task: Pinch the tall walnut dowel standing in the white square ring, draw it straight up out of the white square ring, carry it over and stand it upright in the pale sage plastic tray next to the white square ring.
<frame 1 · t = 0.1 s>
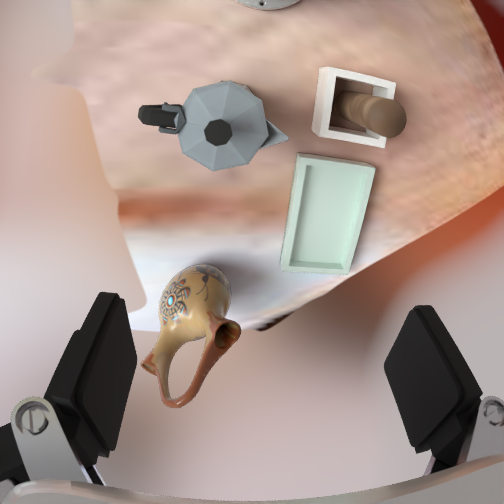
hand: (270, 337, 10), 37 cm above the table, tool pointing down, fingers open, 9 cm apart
white square ring: (346, 104, 39), on the table
coffee maker: (220, 109, 40), on the table
dowel: (364, 110, 33), in the white square ring
ceramic vessel: (198, 276, 53), on the table
tray: (323, 214, 48), on the table
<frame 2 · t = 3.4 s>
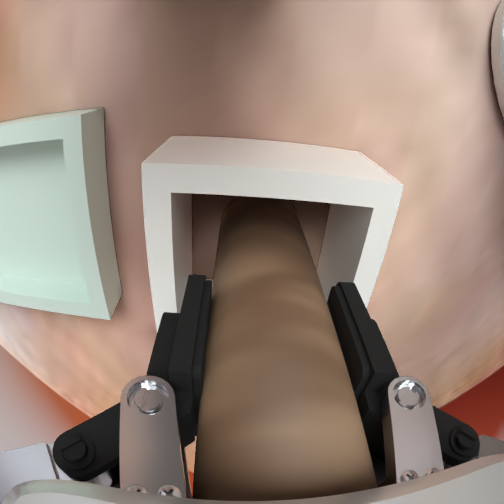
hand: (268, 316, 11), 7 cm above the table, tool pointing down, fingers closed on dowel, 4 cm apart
white square ring: (259, 226, 17), on the table
dowel: (269, 319, 11), in the white square ring, touching gripper
when the fingers open (9 cm above the table, at t = 9.3 s): dowel stays where it is, resting on tray.
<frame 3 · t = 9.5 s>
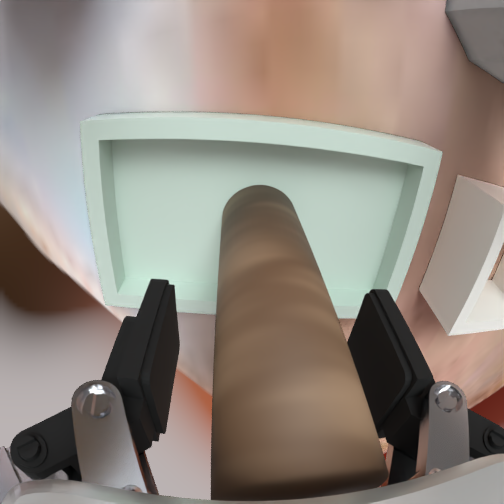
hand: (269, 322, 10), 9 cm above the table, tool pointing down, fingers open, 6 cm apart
white square ring: (481, 241, 19), on the table
coffee maker: (493, 9, 11), on the table
dowel: (272, 304, 11), in the tray, point 8 cm above the table
tray: (257, 212, 18), on the table
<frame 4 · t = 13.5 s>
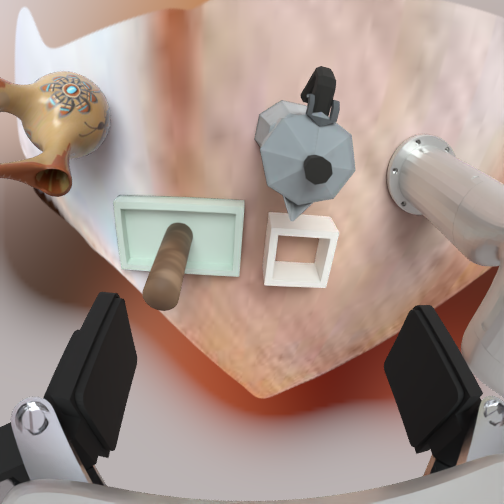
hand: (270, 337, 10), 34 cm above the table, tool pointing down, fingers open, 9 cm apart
white square ring: (295, 241, 47), on the table
coffee maker: (289, 124, 39), on the table
dowel: (170, 261, 39), in the tray, point 8 cm above the table
ceramic vessel: (90, 107, 36), on the table
tray: (179, 232, 46), on the table
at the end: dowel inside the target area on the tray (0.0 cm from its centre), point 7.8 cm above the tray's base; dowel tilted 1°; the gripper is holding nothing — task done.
